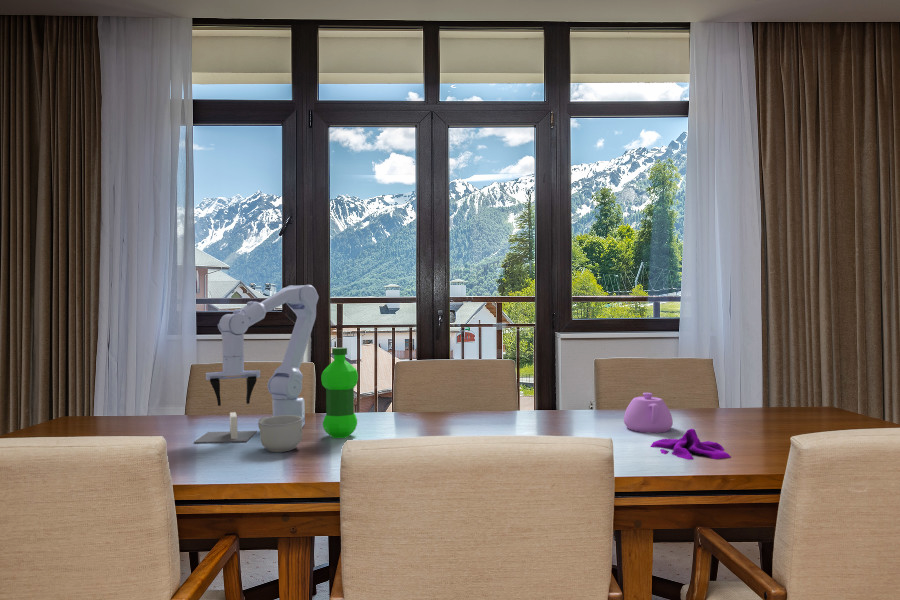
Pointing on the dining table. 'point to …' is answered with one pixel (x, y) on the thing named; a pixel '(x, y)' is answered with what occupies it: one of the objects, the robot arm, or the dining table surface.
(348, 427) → the plastic bottle
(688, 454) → the cloth
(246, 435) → the mat
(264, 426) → the teacup
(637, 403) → the teapot
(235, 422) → the tile
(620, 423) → the dining table surface
